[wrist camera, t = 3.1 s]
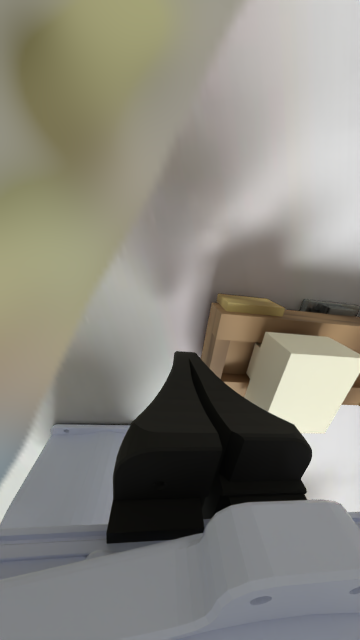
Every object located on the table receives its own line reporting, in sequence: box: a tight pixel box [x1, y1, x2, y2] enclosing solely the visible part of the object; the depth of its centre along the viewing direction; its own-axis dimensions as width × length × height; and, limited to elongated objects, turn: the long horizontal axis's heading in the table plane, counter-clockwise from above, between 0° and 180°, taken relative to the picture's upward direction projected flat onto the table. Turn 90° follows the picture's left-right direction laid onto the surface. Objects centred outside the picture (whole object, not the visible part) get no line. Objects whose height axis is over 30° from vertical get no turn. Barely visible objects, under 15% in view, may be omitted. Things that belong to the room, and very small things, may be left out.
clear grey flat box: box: [300, 299, 360, 317], centre depth 17 cm, size 5×8×2 cm, turn 173°
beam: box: [201, 294, 360, 406], centre depth 15 cm, size 22×8×3 cm, turn 83°
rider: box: [244, 332, 360, 434], centre depth 12 cm, size 4×6×4 cm
